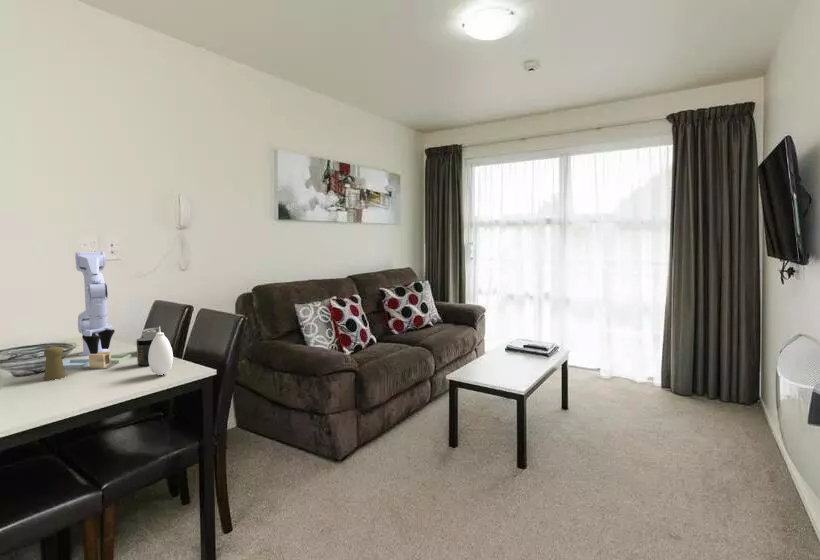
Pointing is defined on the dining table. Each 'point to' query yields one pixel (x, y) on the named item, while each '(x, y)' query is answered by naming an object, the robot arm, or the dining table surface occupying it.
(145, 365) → the supplement container
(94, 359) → the letter block
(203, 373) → the dining table surface
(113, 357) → the sage tray
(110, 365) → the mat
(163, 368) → the white air blower bulb
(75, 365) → the blue-grey tray
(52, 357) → the cork
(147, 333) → the food container
